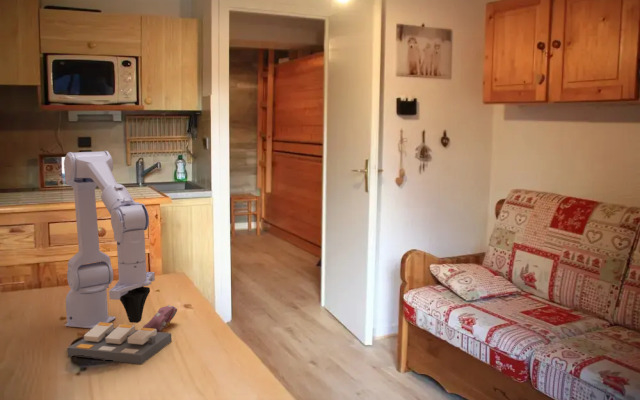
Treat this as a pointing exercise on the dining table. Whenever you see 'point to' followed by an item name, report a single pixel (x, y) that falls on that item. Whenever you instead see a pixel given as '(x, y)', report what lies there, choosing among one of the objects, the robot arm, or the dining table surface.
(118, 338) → the block
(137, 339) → the rocker
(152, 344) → the switch unit
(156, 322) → the video game controller
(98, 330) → the block
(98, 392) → the dining table surface
